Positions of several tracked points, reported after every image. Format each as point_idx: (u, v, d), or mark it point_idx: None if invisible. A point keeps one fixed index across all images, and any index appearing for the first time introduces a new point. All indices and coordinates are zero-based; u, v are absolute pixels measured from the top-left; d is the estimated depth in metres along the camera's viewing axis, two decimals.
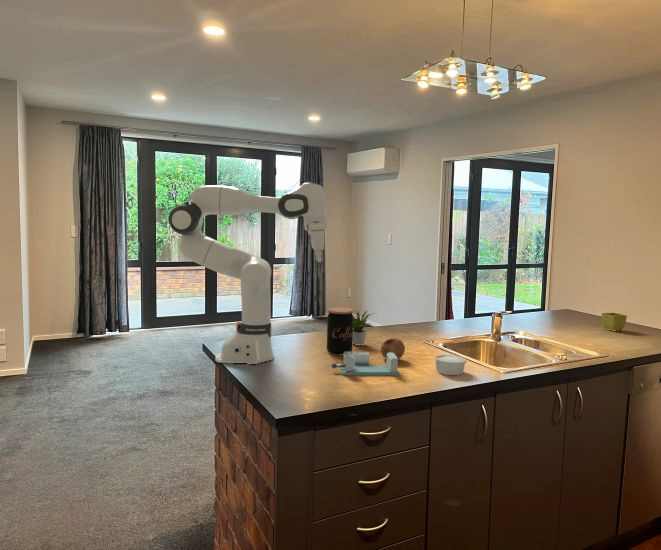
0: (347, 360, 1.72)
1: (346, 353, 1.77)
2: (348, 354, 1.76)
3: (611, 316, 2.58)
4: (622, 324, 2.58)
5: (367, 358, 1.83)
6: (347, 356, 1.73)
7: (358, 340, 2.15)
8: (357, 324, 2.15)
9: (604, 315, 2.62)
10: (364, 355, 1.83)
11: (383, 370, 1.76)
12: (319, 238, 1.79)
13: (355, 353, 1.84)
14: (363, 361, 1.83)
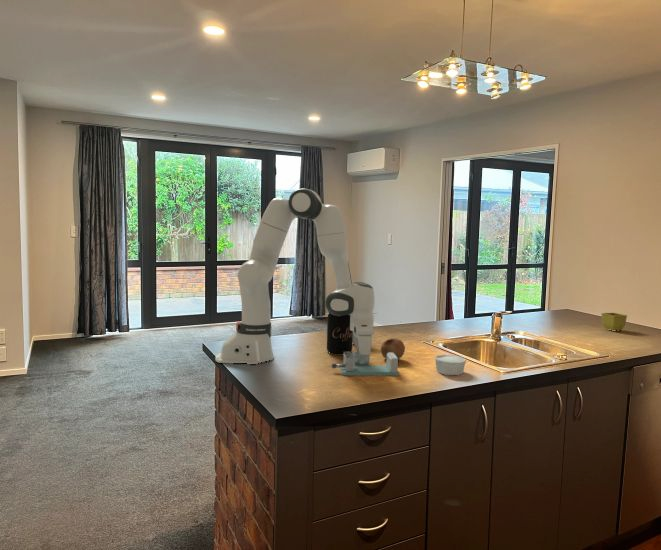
0: (347, 360, 1.72)
1: (346, 353, 1.77)
2: (348, 354, 1.76)
3: (611, 316, 2.58)
4: (622, 324, 2.58)
5: (367, 358, 1.83)
6: (347, 356, 1.73)
7: None
8: None
9: (604, 315, 2.62)
10: None
11: (383, 370, 1.76)
12: (366, 344, 1.74)
13: (355, 353, 1.84)
14: None
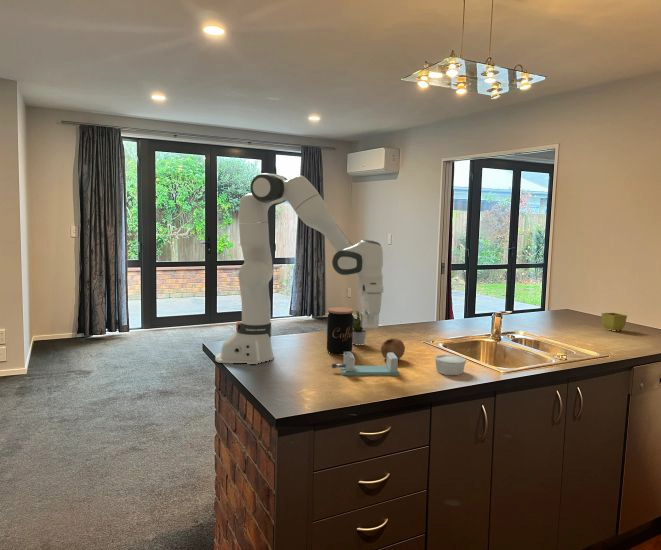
0: (347, 360, 1.72)
1: (346, 353, 1.77)
2: (348, 354, 1.76)
3: (611, 316, 2.58)
4: (622, 324, 2.58)
5: (377, 318, 1.77)
6: (347, 356, 1.73)
7: (358, 340, 2.15)
8: (357, 324, 2.15)
9: (604, 315, 2.62)
10: None
11: (383, 370, 1.76)
12: (376, 302, 1.68)
13: (364, 313, 1.77)
14: None
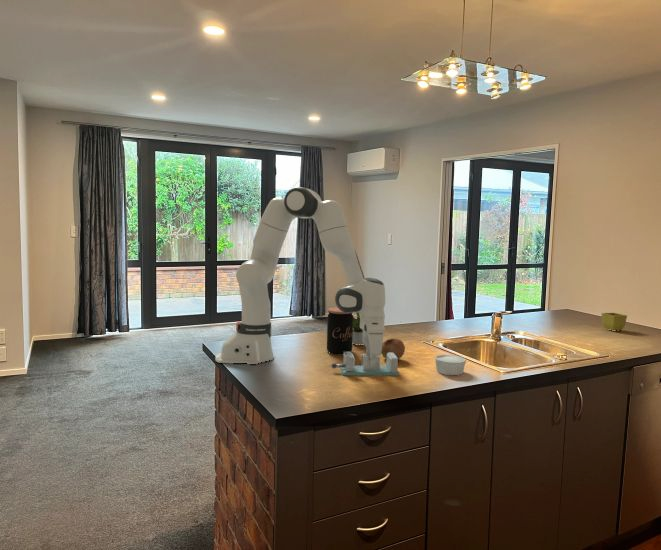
0: (347, 360, 1.72)
1: (346, 353, 1.77)
2: (348, 354, 1.76)
3: (611, 316, 2.58)
4: (622, 324, 2.58)
5: (378, 360, 1.75)
6: (347, 356, 1.73)
7: (358, 340, 2.15)
8: (357, 324, 2.15)
9: (604, 315, 2.62)
10: None
11: (383, 370, 1.76)
12: (377, 343, 1.66)
13: (365, 355, 1.76)
14: None
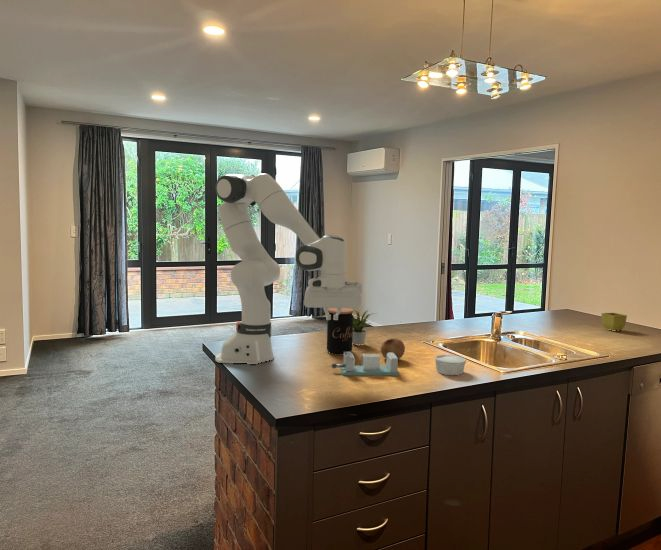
0: (347, 360, 1.72)
1: (346, 353, 1.77)
2: (348, 354, 1.76)
3: (611, 316, 2.58)
4: (622, 324, 2.58)
5: (378, 360, 1.75)
6: (347, 356, 1.73)
7: (358, 340, 2.15)
8: (357, 324, 2.15)
9: (604, 315, 2.62)
10: (374, 357, 1.75)
11: (383, 370, 1.76)
12: (305, 294, 1.72)
13: (365, 355, 1.76)
14: (373, 364, 1.75)
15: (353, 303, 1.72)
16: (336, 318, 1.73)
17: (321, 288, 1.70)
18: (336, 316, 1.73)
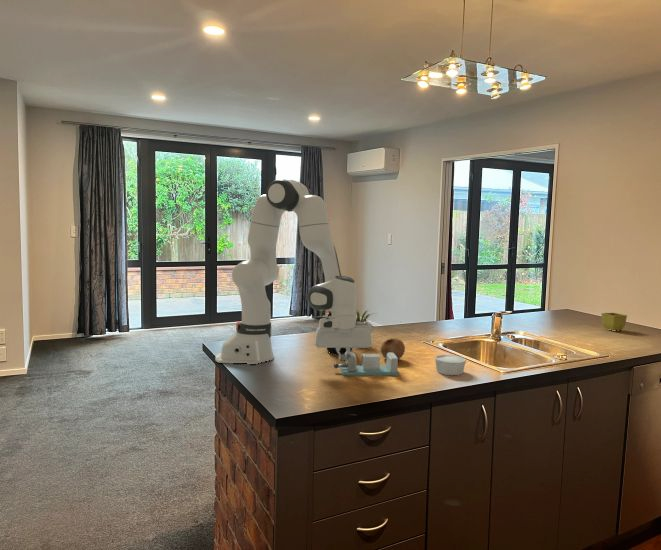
0: (349, 360, 1.72)
1: (348, 353, 1.77)
2: (350, 354, 1.76)
3: (611, 316, 2.58)
4: (622, 324, 2.58)
5: (378, 360, 1.75)
6: (349, 356, 1.73)
7: None
8: None
9: (604, 315, 2.62)
10: (374, 357, 1.75)
11: (383, 370, 1.76)
12: (316, 335, 1.74)
13: (365, 355, 1.76)
14: (373, 364, 1.75)
15: (363, 343, 1.74)
16: (345, 358, 1.75)
17: (332, 329, 1.72)
18: (345, 356, 1.75)
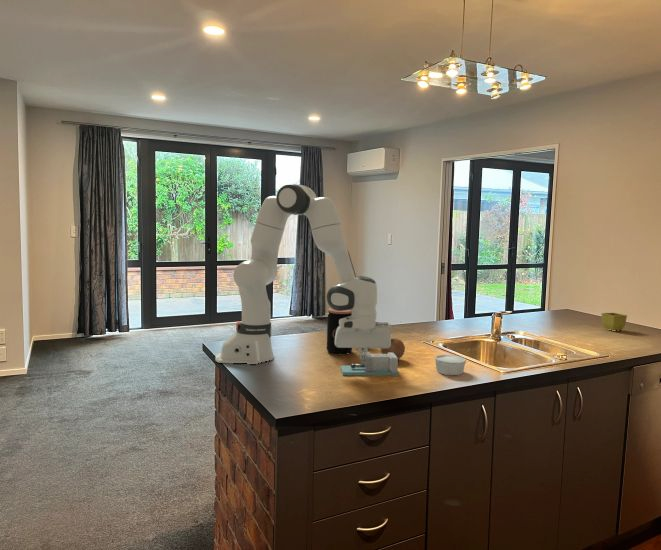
0: (366, 360, 1.73)
1: None
2: (367, 354, 1.76)
3: (611, 316, 2.58)
4: (622, 324, 2.58)
5: (388, 360, 1.75)
6: (366, 356, 1.74)
7: None
8: None
9: (604, 315, 2.62)
10: (384, 357, 1.75)
11: (383, 370, 1.76)
12: (336, 334, 1.74)
13: (375, 355, 1.76)
14: (383, 364, 1.75)
15: (383, 343, 1.75)
16: (362, 358, 1.76)
17: (352, 329, 1.72)
18: (362, 356, 1.75)
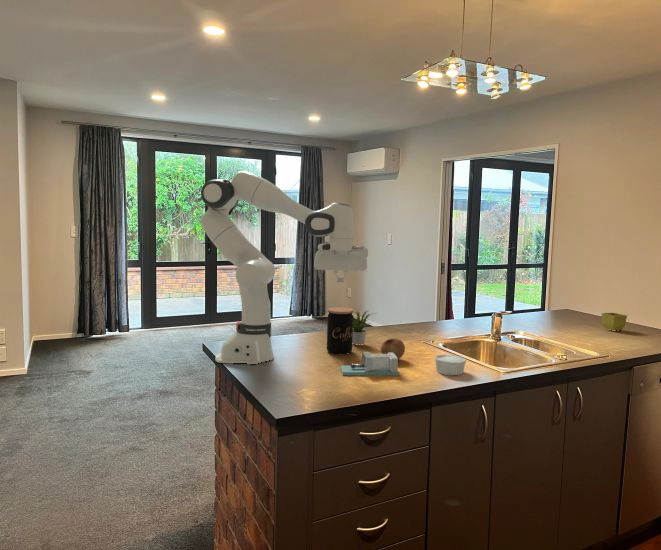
0: (366, 360, 1.73)
1: (365, 353, 1.78)
2: (367, 354, 1.76)
3: (611, 316, 2.58)
4: (622, 324, 2.58)
5: (388, 360, 1.75)
6: (366, 356, 1.74)
7: (358, 340, 2.15)
8: (357, 324, 2.15)
9: (604, 315, 2.62)
10: (384, 357, 1.75)
11: (383, 370, 1.76)
12: (315, 258, 1.85)
13: (375, 355, 1.76)
14: (383, 364, 1.75)
15: (360, 265, 1.85)
16: (342, 280, 1.86)
17: (330, 251, 1.83)
18: (342, 278, 1.86)
